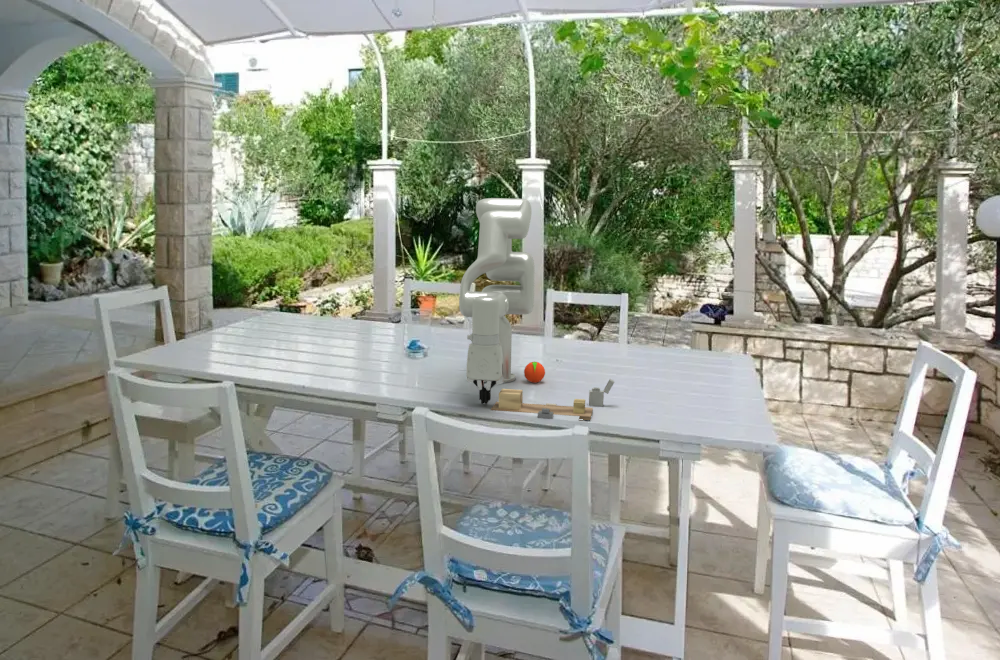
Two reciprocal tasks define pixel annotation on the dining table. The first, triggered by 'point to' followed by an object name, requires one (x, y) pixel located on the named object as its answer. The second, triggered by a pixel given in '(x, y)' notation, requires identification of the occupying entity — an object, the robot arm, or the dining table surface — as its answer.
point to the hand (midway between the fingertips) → (484, 402)
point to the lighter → (599, 394)
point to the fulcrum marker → (545, 414)
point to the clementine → (534, 372)
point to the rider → (510, 399)
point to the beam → (554, 409)
